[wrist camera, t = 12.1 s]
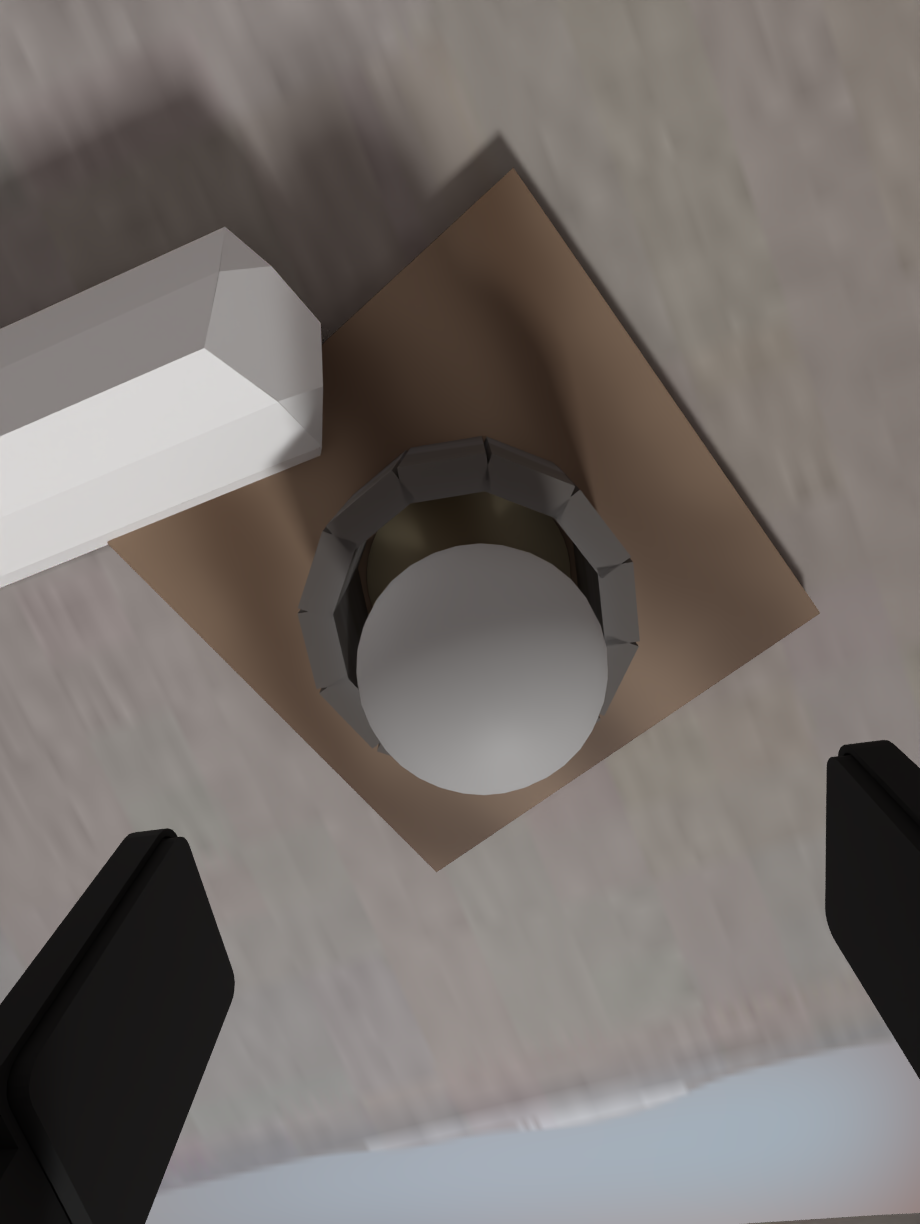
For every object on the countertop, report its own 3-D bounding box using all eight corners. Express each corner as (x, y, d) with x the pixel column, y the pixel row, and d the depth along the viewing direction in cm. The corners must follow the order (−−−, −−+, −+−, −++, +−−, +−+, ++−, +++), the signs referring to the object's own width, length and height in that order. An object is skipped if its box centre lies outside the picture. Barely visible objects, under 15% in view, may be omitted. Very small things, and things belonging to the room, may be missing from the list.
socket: (511, 176, 22) (527, 108, 16) (807, 604, 26) (901, 669, 21) (120, 536, 26) (22, 584, 20) (437, 856, 30) (431, 969, 24)
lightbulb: (366, 622, 25) (298, 797, 15) (427, 463, 24) (396, 537, 13) (522, 680, 26) (558, 885, 16) (592, 530, 24) (686, 651, 14)
